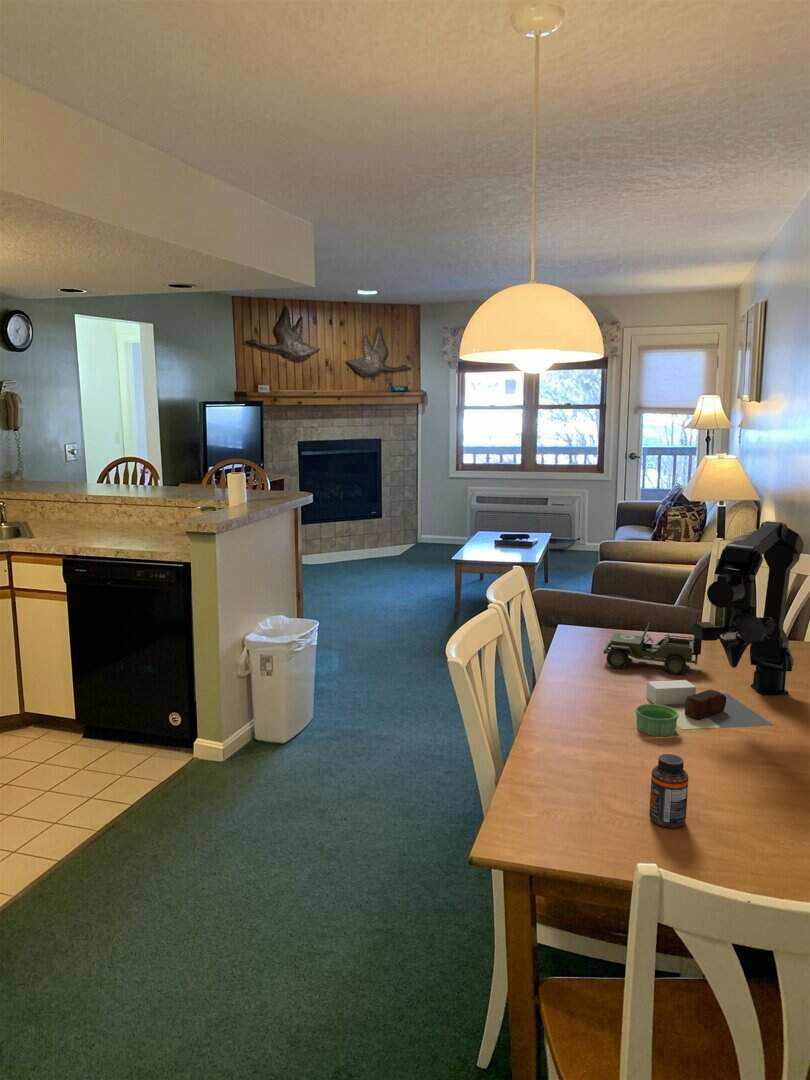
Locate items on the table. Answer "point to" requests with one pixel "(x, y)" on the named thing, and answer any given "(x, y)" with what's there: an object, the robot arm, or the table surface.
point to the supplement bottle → (669, 792)
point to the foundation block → (669, 691)
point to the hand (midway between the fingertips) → (733, 666)
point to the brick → (704, 704)
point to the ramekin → (656, 719)
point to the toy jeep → (653, 651)
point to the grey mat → (721, 717)
